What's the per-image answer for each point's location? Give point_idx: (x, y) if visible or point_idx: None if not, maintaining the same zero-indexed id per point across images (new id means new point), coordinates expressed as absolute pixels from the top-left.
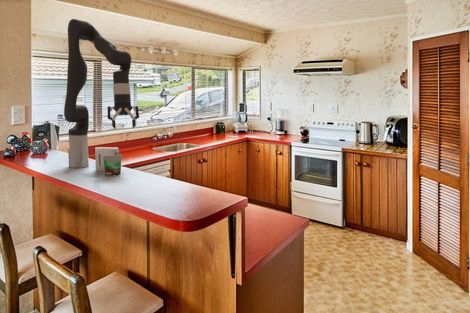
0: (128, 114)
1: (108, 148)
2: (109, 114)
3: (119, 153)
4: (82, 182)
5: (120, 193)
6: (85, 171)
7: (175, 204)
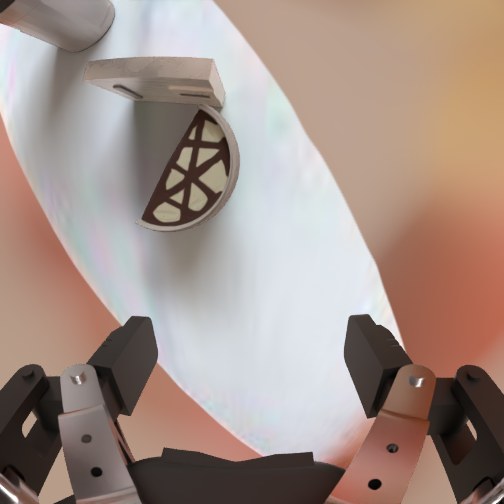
0: (361, 447)
1: (151, 77)
2: (44, 458)
3: (220, 127)
4: (113, 284)
5: (229, 402)
6: (99, 105)
7: (317, 450)
